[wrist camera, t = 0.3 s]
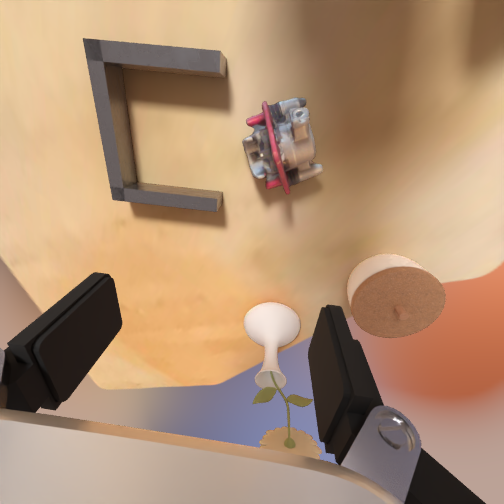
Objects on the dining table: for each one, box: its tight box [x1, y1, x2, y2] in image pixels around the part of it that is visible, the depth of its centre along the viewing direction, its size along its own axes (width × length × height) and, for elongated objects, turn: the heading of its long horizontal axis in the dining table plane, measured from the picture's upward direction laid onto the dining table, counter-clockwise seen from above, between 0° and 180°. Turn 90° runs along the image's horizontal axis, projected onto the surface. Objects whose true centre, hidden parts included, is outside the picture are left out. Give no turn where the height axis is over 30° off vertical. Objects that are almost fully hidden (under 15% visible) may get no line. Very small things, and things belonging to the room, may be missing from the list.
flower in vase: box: [244, 302, 322, 459], centre depth 40 cm, size 13×11×25 cm
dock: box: [83, 38, 227, 212], centre depth 34 cm, size 19×16×4 cm
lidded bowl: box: [347, 254, 445, 338], centre depth 39 cm, size 13×13×11 cm
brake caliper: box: [242, 98, 323, 194], centre depth 32 cm, size 11×11×12 cm
